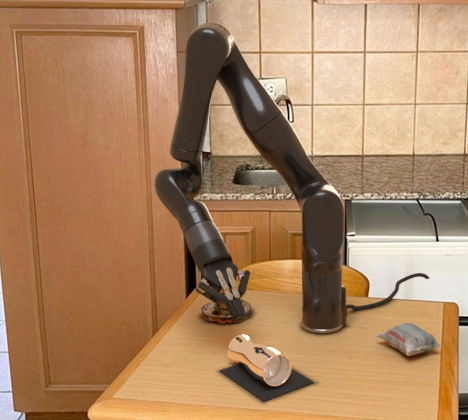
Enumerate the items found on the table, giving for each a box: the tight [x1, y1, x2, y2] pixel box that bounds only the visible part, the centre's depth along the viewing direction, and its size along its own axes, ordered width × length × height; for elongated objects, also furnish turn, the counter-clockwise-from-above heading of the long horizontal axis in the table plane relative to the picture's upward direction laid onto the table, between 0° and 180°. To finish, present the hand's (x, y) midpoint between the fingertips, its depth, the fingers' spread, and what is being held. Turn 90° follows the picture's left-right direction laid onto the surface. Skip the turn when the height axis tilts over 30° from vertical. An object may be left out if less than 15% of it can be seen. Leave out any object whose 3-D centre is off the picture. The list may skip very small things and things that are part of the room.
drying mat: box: [219, 363, 315, 403], centre depth 163 cm, size 16×12×1 cm
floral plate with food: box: [201, 298, 253, 324], centre depth 193 cm, size 12×12×8 cm
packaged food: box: [376, 322, 441, 357], centre depth 174 cm, size 9×12×5 cm
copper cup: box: [227, 333, 293, 387], centre depth 163 cm, size 7×7×15 cm
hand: (240, 317), depth 167 cm, fingers closed
